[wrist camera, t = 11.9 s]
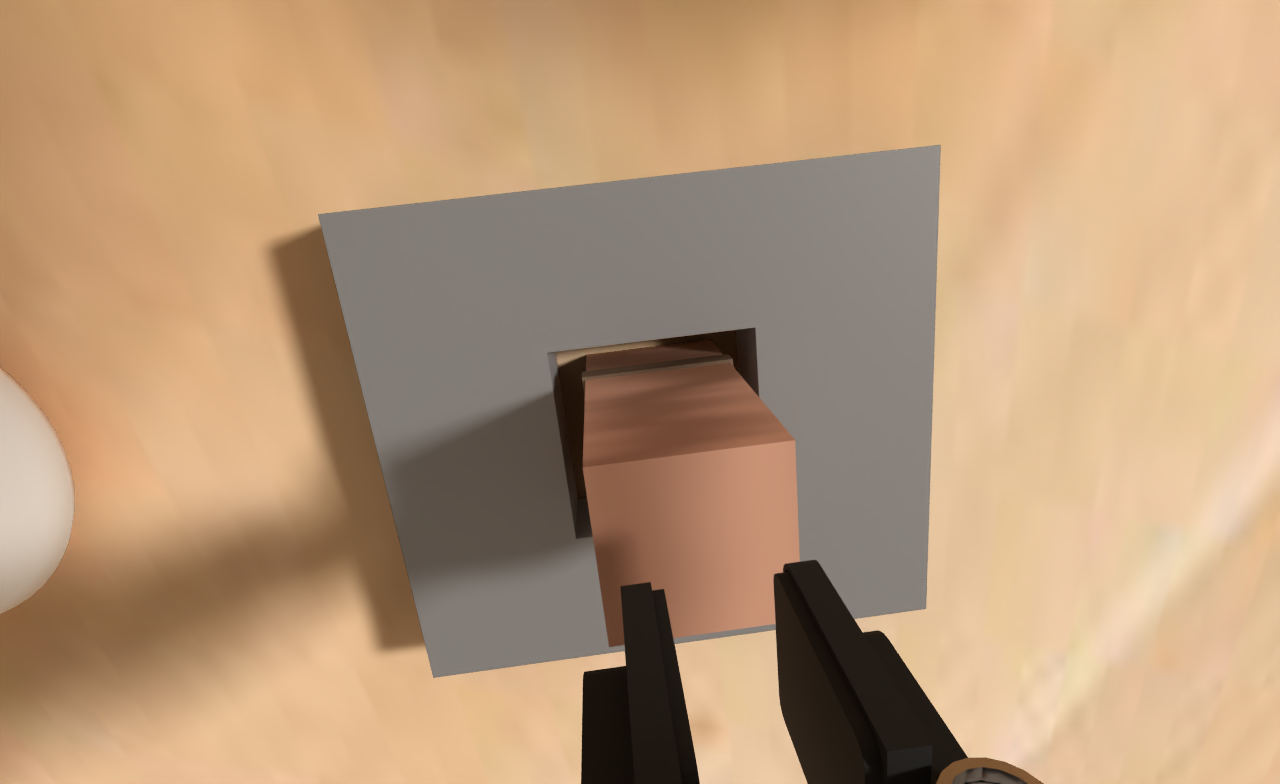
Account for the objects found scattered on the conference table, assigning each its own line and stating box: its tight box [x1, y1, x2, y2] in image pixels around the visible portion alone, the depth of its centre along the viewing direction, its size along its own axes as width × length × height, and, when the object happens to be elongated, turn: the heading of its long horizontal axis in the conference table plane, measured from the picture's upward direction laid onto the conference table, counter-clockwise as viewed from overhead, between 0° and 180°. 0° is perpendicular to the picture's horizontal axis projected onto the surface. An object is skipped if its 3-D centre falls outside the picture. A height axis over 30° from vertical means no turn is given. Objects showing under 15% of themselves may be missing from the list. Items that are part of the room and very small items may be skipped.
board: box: [318, 145, 941, 678], centre depth 22 cm, size 18×16×3 cm
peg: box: [582, 340, 800, 647], centre depth 19 cm, size 5×5×10 cm
